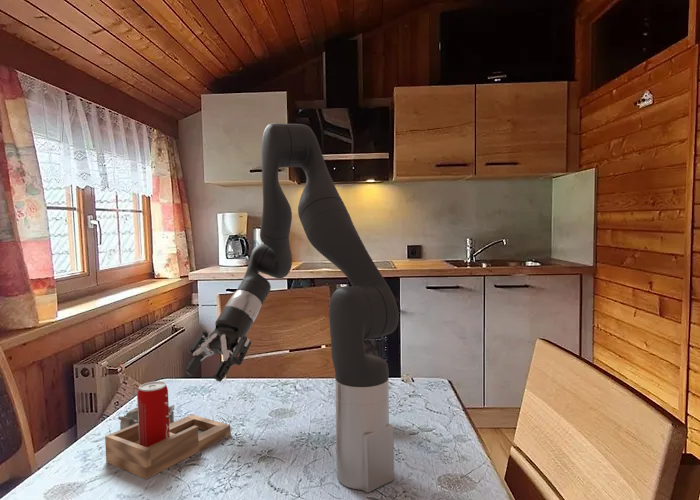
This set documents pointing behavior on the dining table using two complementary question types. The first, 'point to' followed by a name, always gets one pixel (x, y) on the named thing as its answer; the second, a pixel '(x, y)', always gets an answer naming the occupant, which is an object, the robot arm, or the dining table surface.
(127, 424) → the grey piece
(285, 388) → the dining table surface
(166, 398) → the soda can
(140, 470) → the two-compartment wooden tray
